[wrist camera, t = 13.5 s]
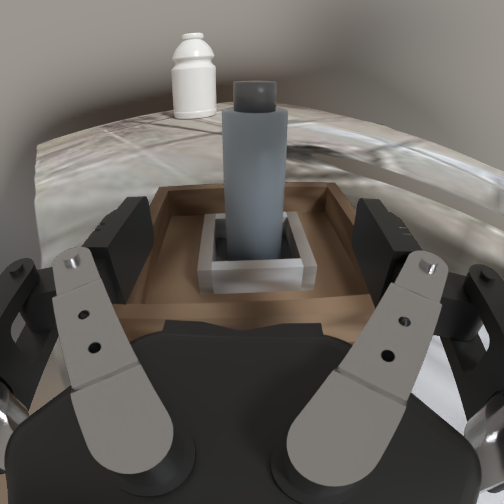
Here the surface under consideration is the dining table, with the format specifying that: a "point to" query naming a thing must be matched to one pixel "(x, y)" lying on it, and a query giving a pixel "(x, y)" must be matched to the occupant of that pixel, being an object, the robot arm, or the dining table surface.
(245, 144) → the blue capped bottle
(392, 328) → the robot arm
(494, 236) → the dining table surface
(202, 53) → the bottle
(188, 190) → the wooden box
